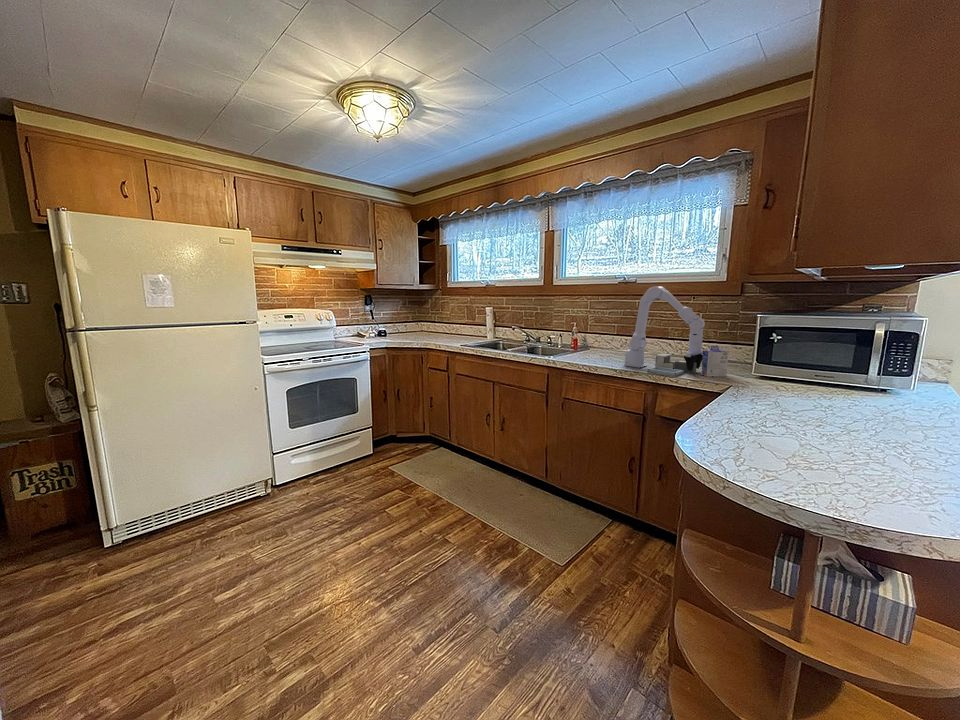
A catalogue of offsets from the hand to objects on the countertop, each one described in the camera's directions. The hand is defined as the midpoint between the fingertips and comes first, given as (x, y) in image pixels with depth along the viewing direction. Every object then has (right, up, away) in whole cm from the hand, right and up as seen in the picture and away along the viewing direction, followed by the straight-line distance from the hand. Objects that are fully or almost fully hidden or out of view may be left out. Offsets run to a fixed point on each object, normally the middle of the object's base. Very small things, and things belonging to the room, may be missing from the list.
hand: (693, 369), depth 195 cm
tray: (-14, -2, 0) cm, 14 cm away
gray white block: (-2, -1, +3) cm, 4 cm away
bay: (-8, 0, +10) cm, 13 cm away
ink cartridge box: (+6, -3, -7) cm, 10 cm away
